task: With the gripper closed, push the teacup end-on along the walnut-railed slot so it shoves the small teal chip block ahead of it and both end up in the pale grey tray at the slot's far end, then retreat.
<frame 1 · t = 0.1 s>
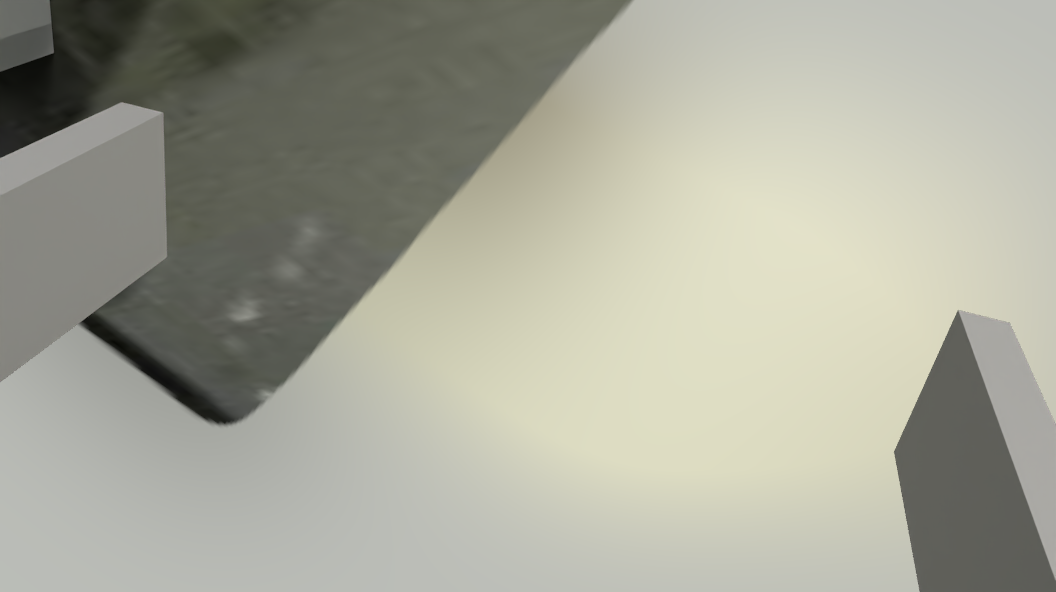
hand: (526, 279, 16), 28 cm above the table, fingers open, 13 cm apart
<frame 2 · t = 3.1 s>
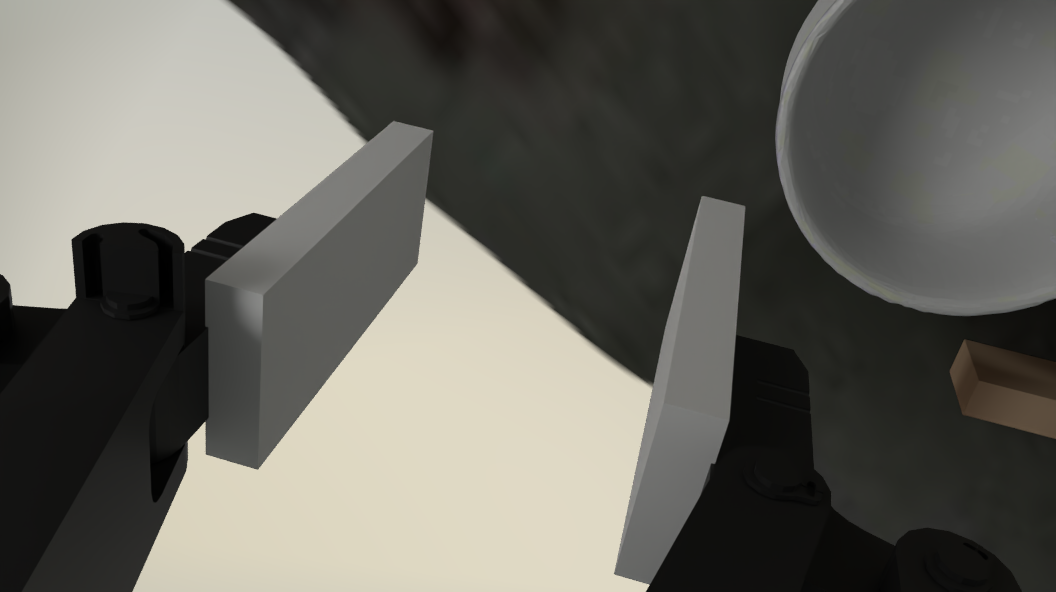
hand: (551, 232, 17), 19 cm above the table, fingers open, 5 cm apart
teacup: (975, 92, 32), on the table
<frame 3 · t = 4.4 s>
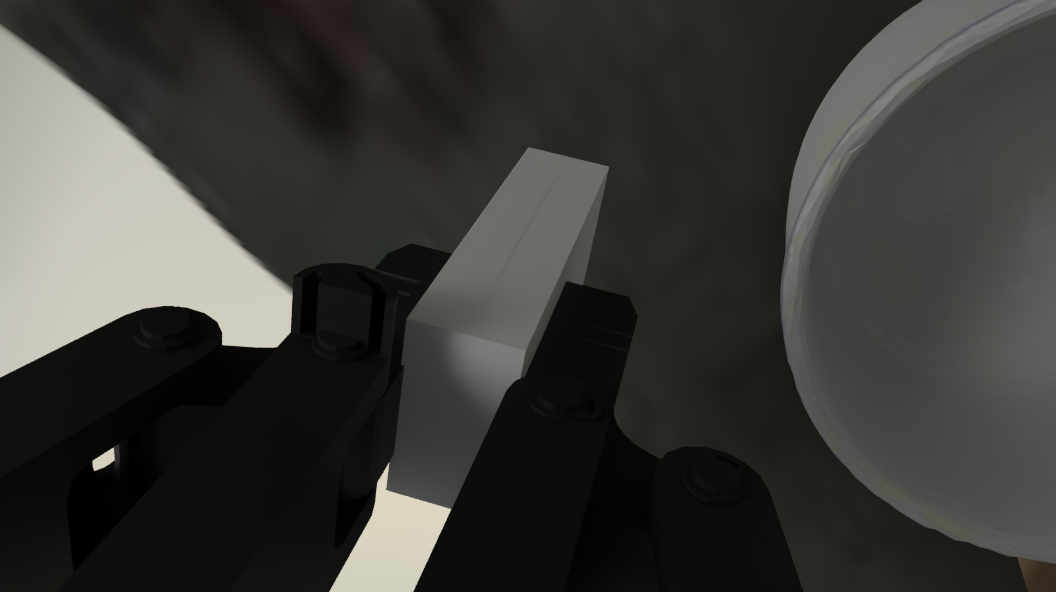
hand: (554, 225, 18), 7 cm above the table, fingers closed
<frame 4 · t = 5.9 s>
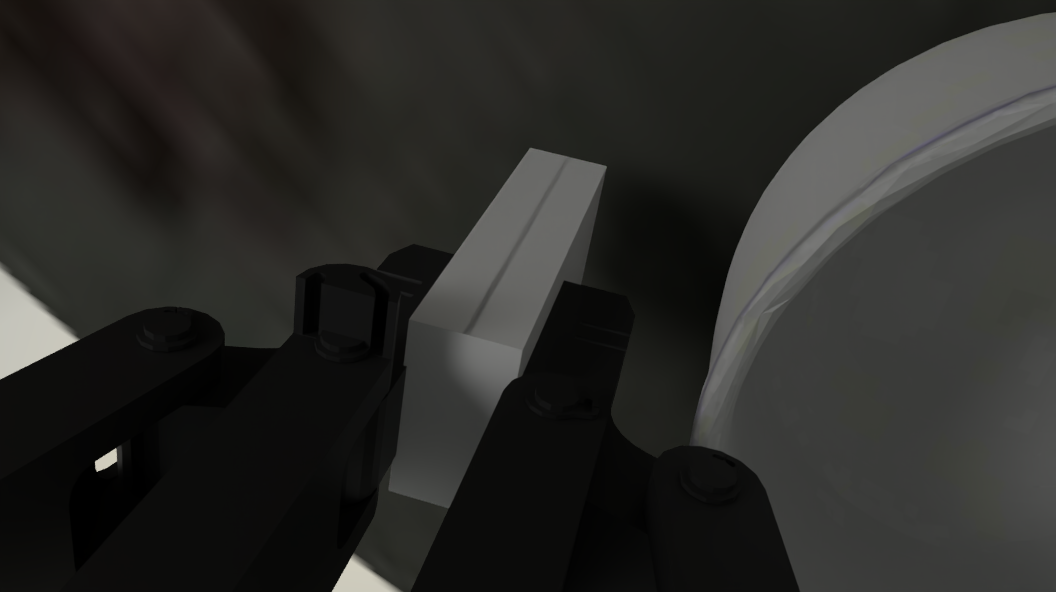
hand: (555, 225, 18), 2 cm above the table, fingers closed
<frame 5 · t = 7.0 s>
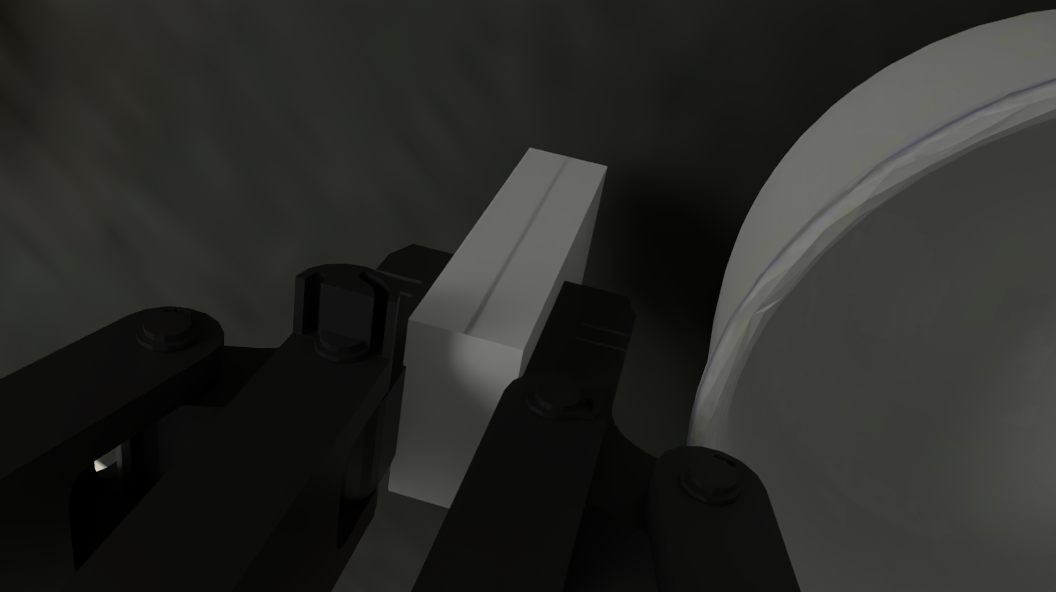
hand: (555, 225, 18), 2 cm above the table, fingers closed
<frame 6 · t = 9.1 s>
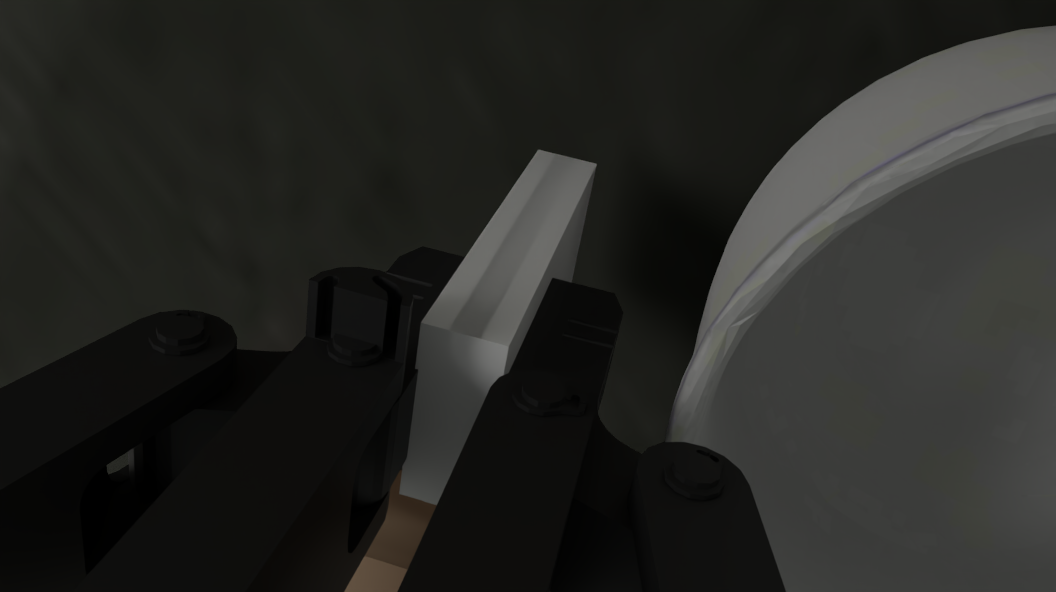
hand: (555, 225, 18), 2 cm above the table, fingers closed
slot rails: (532, 153, 19), on the table
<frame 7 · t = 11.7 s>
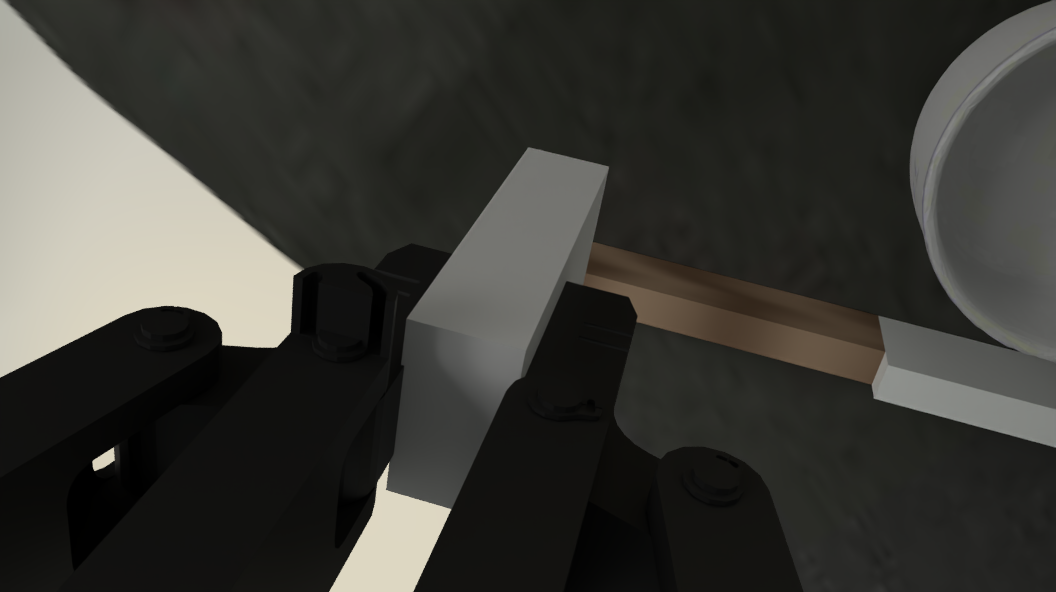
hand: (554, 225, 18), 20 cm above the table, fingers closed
slot rails: (797, 62, 35), on the table
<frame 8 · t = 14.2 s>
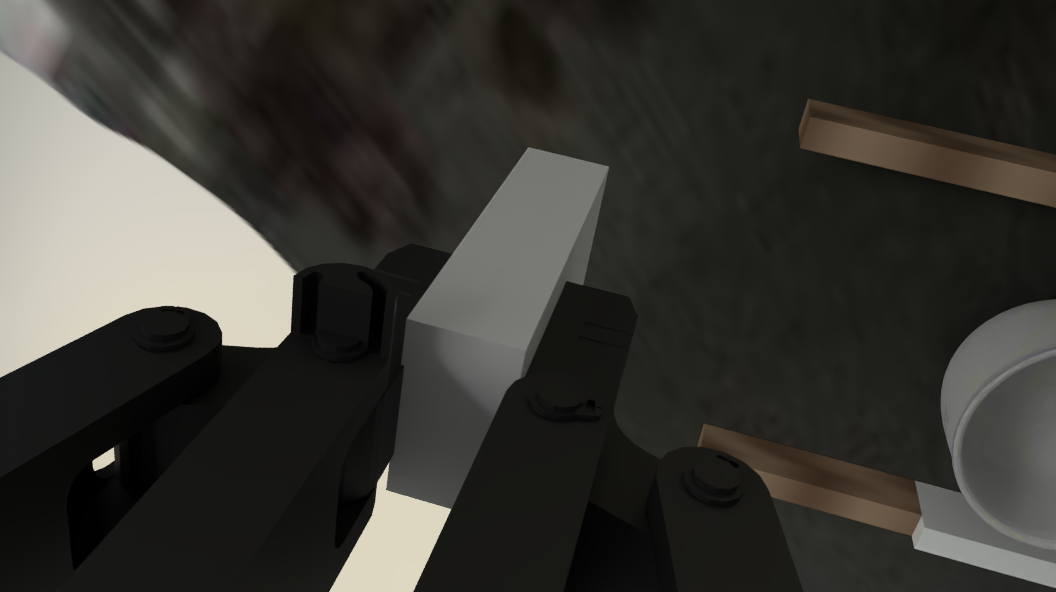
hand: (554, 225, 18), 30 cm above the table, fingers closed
slot rails: (861, 317, 50), on the table
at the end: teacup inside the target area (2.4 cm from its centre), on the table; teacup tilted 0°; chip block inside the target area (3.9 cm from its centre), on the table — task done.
